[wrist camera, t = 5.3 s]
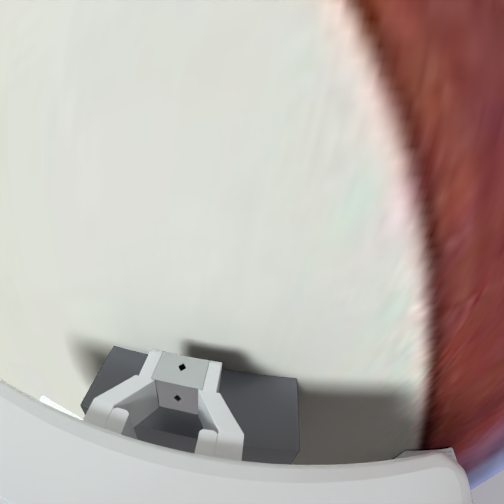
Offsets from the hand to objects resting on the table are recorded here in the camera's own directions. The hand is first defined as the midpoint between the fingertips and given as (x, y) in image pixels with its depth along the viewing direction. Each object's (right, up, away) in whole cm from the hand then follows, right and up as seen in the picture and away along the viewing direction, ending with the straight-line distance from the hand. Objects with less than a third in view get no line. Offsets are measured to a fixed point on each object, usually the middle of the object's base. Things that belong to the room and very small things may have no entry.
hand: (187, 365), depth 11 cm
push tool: (-1, -10, +7) cm, 12 cm away
